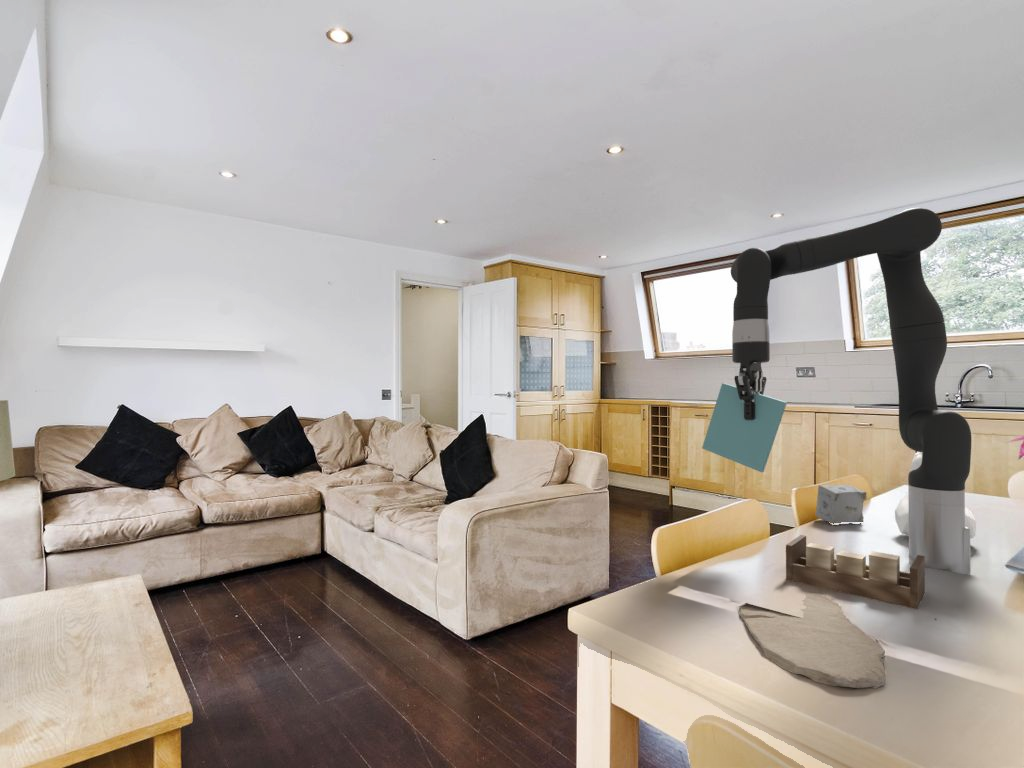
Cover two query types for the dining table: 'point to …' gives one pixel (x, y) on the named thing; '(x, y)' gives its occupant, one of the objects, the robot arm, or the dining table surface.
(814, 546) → the offcut
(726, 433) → the teal sheet
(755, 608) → the stone tablet
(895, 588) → the walnut rack
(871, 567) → the offcut
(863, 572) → the block
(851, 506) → the grey block
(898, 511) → the decorative rooster
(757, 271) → the robot arm
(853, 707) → the dining table surface
